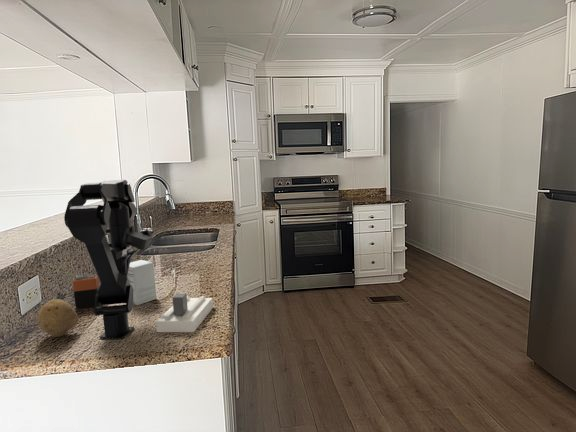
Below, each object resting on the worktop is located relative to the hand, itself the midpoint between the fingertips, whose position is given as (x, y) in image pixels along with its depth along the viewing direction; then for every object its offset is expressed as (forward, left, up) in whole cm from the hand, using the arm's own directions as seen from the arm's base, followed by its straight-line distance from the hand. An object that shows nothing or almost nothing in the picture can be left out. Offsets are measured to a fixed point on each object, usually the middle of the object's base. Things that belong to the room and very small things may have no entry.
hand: (124, 277), depth 118 cm
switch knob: (-6, -18, -9) cm, 21 cm away
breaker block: (-2, -18, -12) cm, 22 cm away
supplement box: (+14, +3, -12) cm, 19 cm away
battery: (+10, +19, -12) cm, 25 cm away
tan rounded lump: (-13, +13, -12) cm, 22 cm away
